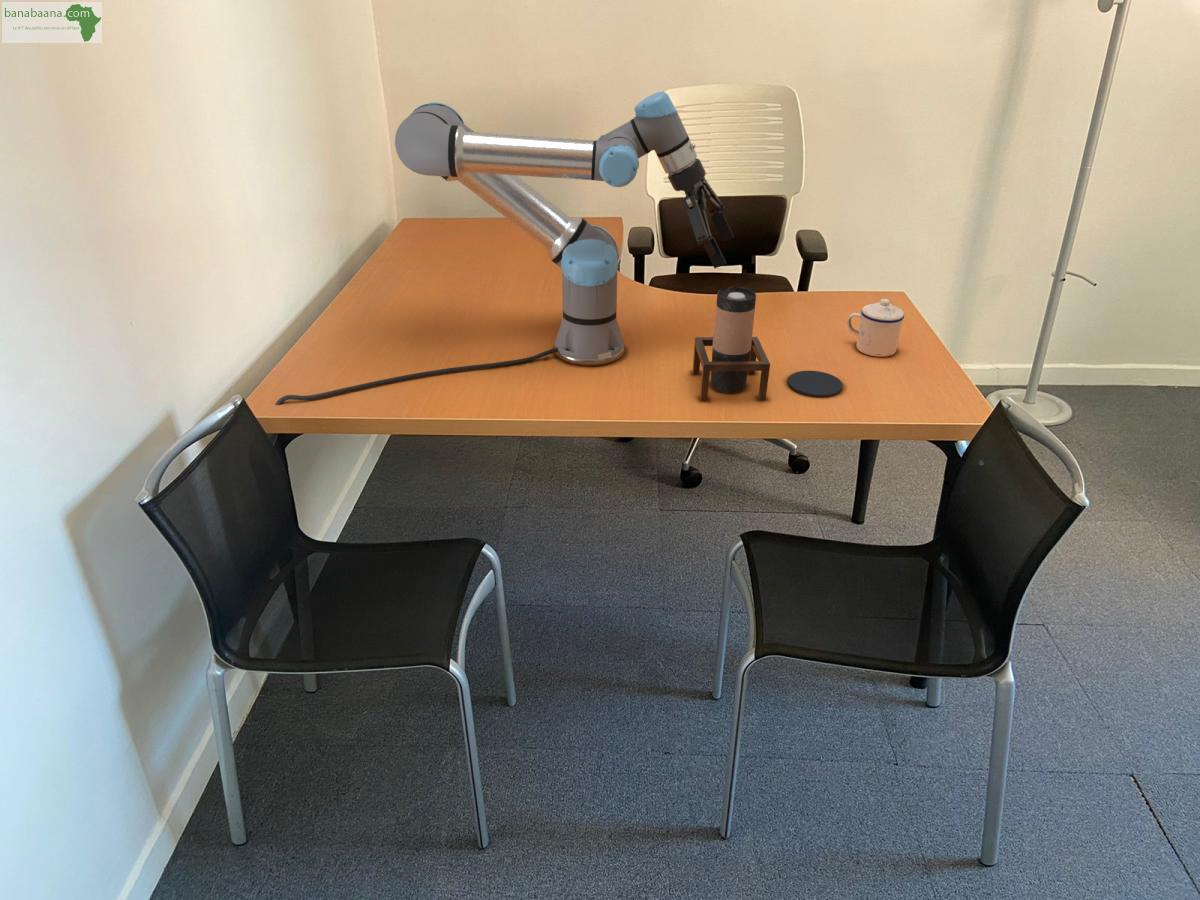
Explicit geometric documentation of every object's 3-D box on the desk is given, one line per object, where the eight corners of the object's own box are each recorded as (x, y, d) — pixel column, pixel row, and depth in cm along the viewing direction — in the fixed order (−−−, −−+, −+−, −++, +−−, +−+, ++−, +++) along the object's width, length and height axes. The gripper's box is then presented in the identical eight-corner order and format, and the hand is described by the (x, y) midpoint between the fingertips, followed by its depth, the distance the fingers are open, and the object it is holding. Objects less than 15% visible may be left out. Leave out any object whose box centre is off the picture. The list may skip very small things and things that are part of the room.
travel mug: (745, 396, 174) (755, 302, 164) (707, 392, 175) (715, 298, 165) (747, 379, 180) (757, 287, 170) (711, 375, 182) (718, 284, 171)
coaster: (794, 397, 174) (794, 395, 173) (782, 373, 183) (782, 370, 183) (848, 397, 174) (849, 394, 174) (833, 372, 184) (834, 370, 183)
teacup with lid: (902, 347, 195) (912, 298, 189) (889, 361, 189) (899, 311, 183) (850, 334, 201) (859, 286, 195) (836, 348, 194) (844, 299, 188)
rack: (700, 400, 172) (703, 364, 168) (692, 371, 183) (694, 337, 179) (765, 400, 173) (770, 363, 168) (753, 371, 184) (757, 336, 180)
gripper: (688, 180, 172) (733, 271, 181) (707, 139, 191) (746, 222, 200) (655, 195, 175) (700, 283, 185) (677, 153, 194) (717, 235, 204)
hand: (724, 252), depth 193 cm, fingers open, 13 cm apart
